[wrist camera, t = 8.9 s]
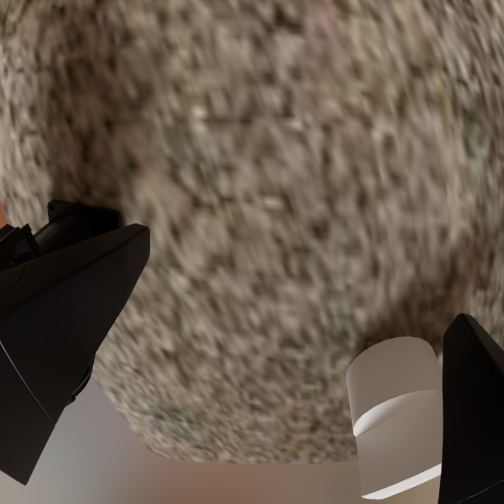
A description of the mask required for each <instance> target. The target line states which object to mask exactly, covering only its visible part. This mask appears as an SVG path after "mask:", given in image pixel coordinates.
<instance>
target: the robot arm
mask: <svg viewBox="0 0 504 504" xmlns="http://www.w3.org/2000/svg"><path fill="white" fill-rule="evenodd" d="M53 206H54V208H53ZM47 208H48V217H49V223H47V224H46V225H45V226H44V227H42V228H41V229H40V230H39V231H38V232H36V233H35V234H34V235H33V234H32V233H31V231H32V230H31V228H30V226H29V224H28V223H27V224H26V225H24V226H23V227H21V228H19V226H18V227H16V228H14V227H12V226H11V225H9V224H6V225H5V226H4V227H3V228H1V229H0V470H1V471H2V472H4V473H5V474H7V475H8V476H10V477H11V478H13V479H15V480H16V481H18V482H20V483H21V484H23V485H26V484H27V483H28V481H29V478H30V476H31V474H32V472H33V470H34V468H35V465H36V463H37V461H38V459H39V457H40V455H41V453H42V451H43V449H44V447H45V445H46V443H47V441H48V439H49V437H50V435H51V433H52V431H53V429H54V427H55V425H56V423H57V421H58V419H59V417H60V415H61V414H62V412H63V410H64V408H65V407H66V406H67V405H69V404H70V403H72V402H74V400H75V399H76V396H77V395H78V394H79V393H80V392H81V391H82V390H83V389H84V387H85V386H86V385H87V383H88V381H89V379H90V377H91V373H92V369H93V364H94V359H95V354H96V352H97V350H98V348H99V347H100V345H101V343H102V342H103V340H104V338H105V337H106V335H107V333H108V332H109V330H110V328H111V327H112V325H113V324H114V322H115V320H116V319H117V317H118V316H119V314H120V312H121V311H122V309H123V308H124V306H125V304H126V303H127V301H128V299H129V297H130V295H131V293H132V291H133V289H134V287H135V285H136V283H137V281H138V279H139V277H140V275H141V273H142V271H143V269H144V267H145V265H146V263H147V261H148V259H149V255H150V230H149V228H148V227H147V226H144V225H141V224H137V223H134V224H131V225H128V226H125V227H122V228H121V216H120V214H119V212H117V211H116V210H112V209H106V208H100V207H94V206H88V205H83V204H77V203H71V202H65V201H59V200H52V201H50V202H49V203H48V205H47ZM112 216H114V217H115V220H114V219H113V218H112ZM442 398H443V443H442V464H441V479H440V489H439V498H438V504H504V351H503V350H502V349H501V348H500V347H499V345H498V344H497V343H496V342H495V341H494V340H493V339H492V337H491V336H490V335H489V334H488V333H487V332H486V331H485V330H484V328H483V327H482V326H481V325H480V324H479V323H478V322H477V321H476V320H475V319H474V318H473V317H472V316H471V315H468V314H464V313H460V314H459V315H457V317H456V318H455V319H454V321H453V322H452V324H451V325H450V326H449V328H448V329H447V330H446V332H445V334H444V337H443V372H442Z"/></svg>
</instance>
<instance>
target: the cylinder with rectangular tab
mask: <svg viewBox="0 0 504 504" xmlns="http://www.w3.org/2000/svg"><path fill="white" fill-rule="evenodd" d="M346 378H347V386H348V393H349V401H350V408H351V416H352V425H353V434H354V435H355V436H356V441H357V451H358V460H359V471H360V482H361V495H362V497H363V498H367V499H383V498H386V497H389V496H391V495H394V494H397V493H399V492H402V491H404V490H407V489H409V488H412V487H414V486H416V485H419V484H421V483H423V482H426V481H428V480H430V479H432V478H434V477H436V476H438V475H441V464H442V443H443V398H442V371H441V368H440V366H439V363H438V360H437V358H436V355H435V353H434V350H433V348H432V347H431V345H430V344H429V343H428V342H427V341H425V340H423V339H421V338H416V337H411V336H409V337H396V338H392V339H387V340H385V341H382V342H380V343H377V344H375V345H373V346H371V347H369V348H368V349H366V350H364V351H363V352H362V353H361V354H359V355H358V356H357V357H356V358H355V359H354V360H353V362H352V363H351V364H350V366H349V368H348V371H347V374H346Z"/></svg>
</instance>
